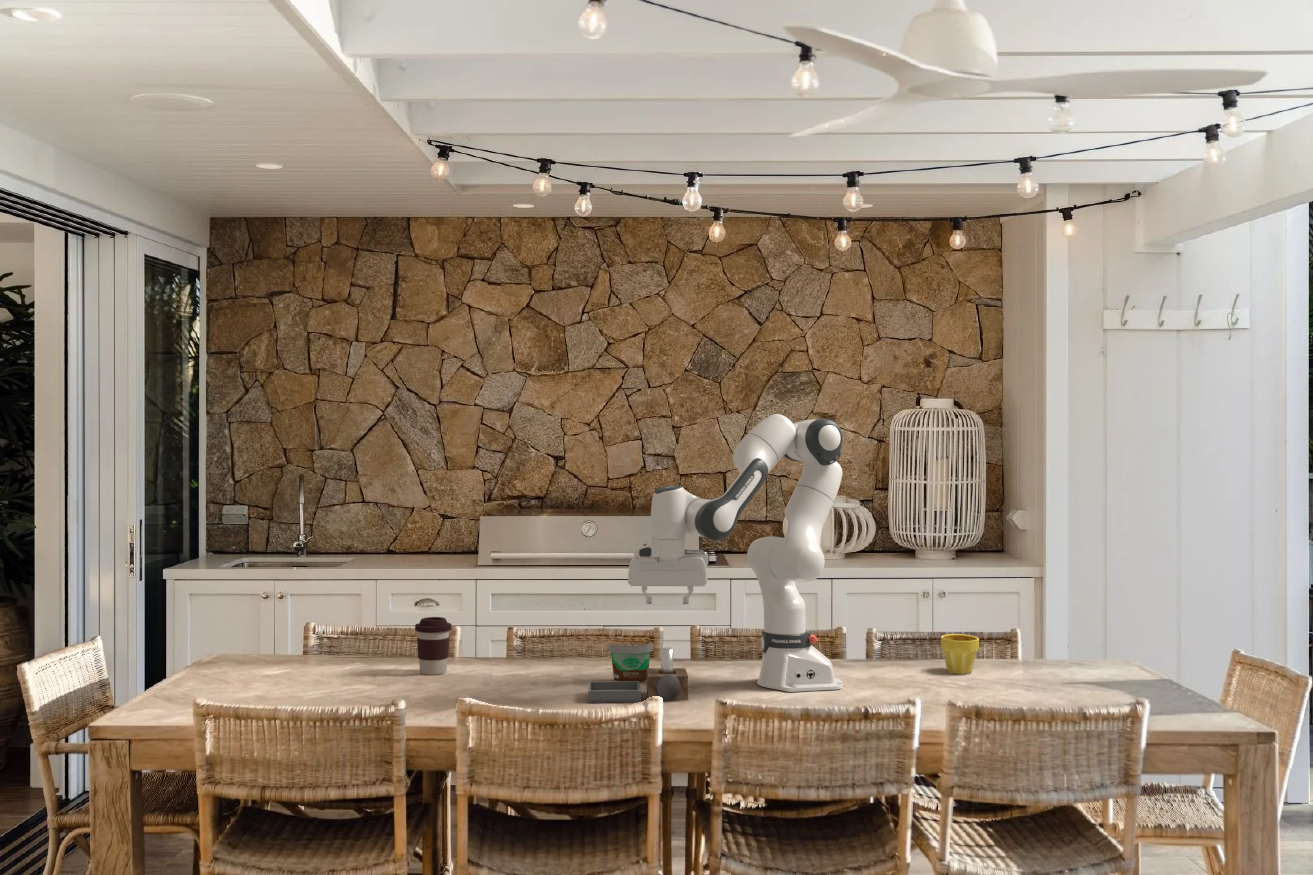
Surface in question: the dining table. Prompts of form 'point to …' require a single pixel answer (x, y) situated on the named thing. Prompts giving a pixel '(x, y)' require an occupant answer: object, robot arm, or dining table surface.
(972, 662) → the plant pot
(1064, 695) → the dining table surface
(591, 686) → the tray
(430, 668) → the coffee cup
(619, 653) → the food container
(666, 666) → the lock pin
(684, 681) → the block
